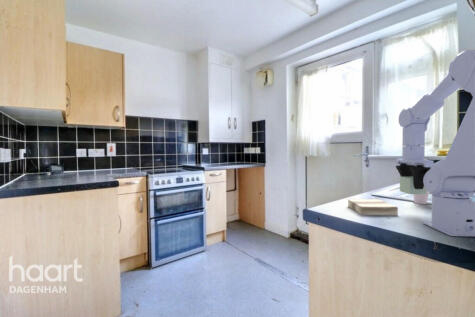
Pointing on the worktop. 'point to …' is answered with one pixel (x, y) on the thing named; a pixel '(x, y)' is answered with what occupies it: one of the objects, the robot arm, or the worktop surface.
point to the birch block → (372, 207)
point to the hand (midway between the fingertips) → (412, 187)
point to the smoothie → (421, 198)
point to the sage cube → (410, 186)
